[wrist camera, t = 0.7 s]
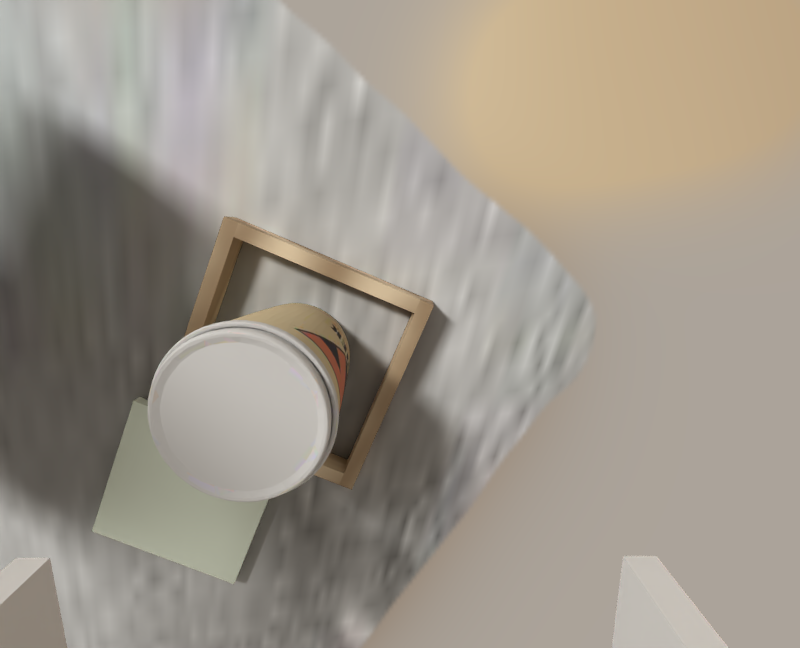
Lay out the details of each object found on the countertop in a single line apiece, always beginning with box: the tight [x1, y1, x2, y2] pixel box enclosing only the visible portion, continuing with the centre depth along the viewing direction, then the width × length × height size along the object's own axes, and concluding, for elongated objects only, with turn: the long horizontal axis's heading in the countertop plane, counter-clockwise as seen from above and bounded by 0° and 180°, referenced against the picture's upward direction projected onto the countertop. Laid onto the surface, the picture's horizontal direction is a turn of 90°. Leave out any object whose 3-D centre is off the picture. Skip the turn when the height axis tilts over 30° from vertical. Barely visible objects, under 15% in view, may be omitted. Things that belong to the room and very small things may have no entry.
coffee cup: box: [147, 303, 350, 502], centre depth 27 cm, size 9×9×12 cm
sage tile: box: [92, 397, 269, 584], centre depth 35 cm, size 12×12×1 cm
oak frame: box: [184, 217, 434, 490], centre depth 32 cm, size 15×15×2 cm
